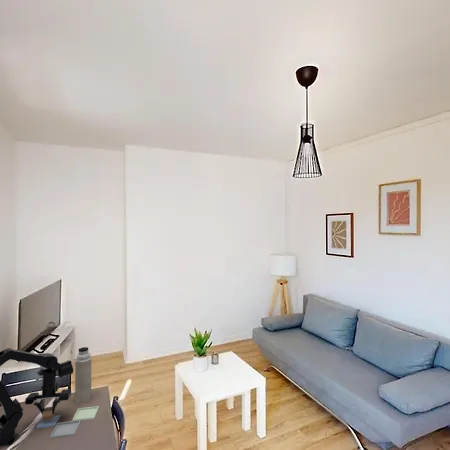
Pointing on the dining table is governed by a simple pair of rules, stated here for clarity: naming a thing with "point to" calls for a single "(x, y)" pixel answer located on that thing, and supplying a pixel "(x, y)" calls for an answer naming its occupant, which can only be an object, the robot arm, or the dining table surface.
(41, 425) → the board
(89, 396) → the thermos bottle
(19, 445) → the dining table surface
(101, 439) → the dining table surface
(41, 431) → the dining table surface
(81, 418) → the green tray
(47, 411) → the letter cube
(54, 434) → the grey tray
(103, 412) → the dining table surface
